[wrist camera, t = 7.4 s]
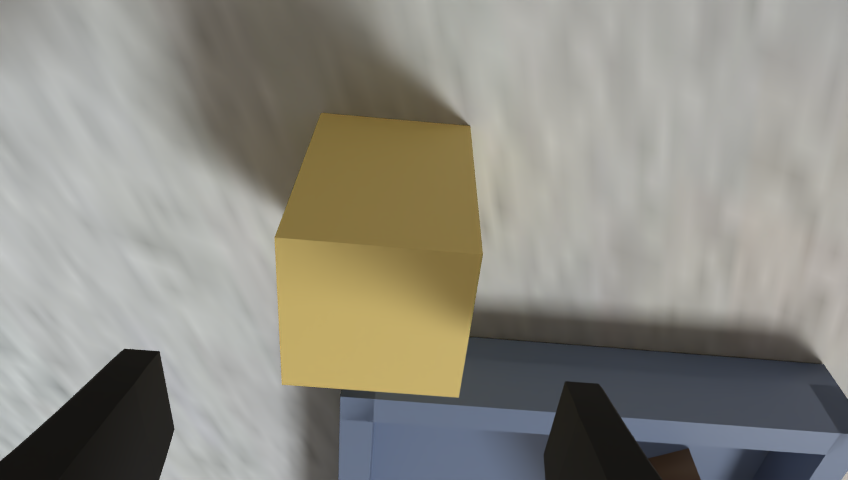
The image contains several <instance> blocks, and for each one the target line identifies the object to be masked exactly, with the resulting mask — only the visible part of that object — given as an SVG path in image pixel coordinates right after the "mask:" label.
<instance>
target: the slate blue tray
mask: <svg viewBox="0 0 848 480" xmlns="http://www.w3.org/2000/svg"><path fill="white" fill-rule="evenodd" d="M565 381H570V382H584V383H597V384H599V385H600V386H601V387H602V388H603V390H604V391H605V393H606V394H607V396H608V398H609V399H610V401H611V402H612V404H613V406H614V407H615V409H616V410H617V412H618V414H619V415H620V417H621V418H622V420H623V421H624V423H625V425H626V426H627V428H628V429H629V431H630V432H631V434H632V435H633V437H634V438H635V440H636V441H637V443H638V444H639V446H640V447H641V449H642V450H643V452H644V453H645V455H646V456H647V458H652V457H656V456H660V455H664V454H668V453H672V452H676V451H680V450H684V449H688V448H689V450H690V453H691V455H692V458H693V461H694V463H695V466H696V468H697V471H698V474H699V476H700V479H701V480H841V479H842V478H843V477H844V475H845V474H846V472H847V471H848V399H847V398H846V396H845V395H844V393H843V392H842V390H841V389H840V387H839V386H838V384H837V383H836V382H835V380H834V379H833V377H832V376H831V374H830V373H829V371H828V370H827V368H826V367H825V365H824V364H813V363H800V362H787V361H774V360H761V359H748V358H735V357H722V356H709V355H696V354H683V353H670V352H657V351H644V350H631V349H618V348H605V347H592V346H579V345H566V344H553V343H541V342H528V341H515V340H502V339H489V338H476V337H469V340H468V346H467V352H466V358H465V363H464V369H463V375H462V381H461V387H460V393H459V398H457V397H443V396H430V395H416V394H402V393H389V392H375V391H362V390H348V389H341V395H340V432H339V479H338V480H545V468H544V451H545V448H546V444H547V441H548V438H549V434H550V431H551V427H552V424H553V421H554V417H555V414H556V410H557V407H558V403H559V400H560V397H561V393H562V390H563V386H564V383H565Z"/></svg>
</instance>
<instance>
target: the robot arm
mask: <svg viewBox="0 0 848 480" xmlns="http://www.w3.org/2000/svg"><path fill="white" fill-rule="evenodd" d="M173 432H174V425H173V419H172V414H171V409H170V404H169V398H168V393H167V388H166V383H165V377H164V372H163V367H162V362H161V356H160V351H148V350H134V349H124V350H122V351H121V352H120V353H119V354H118V355H117V356H116V357H114V358H113V359H112V360H111V361H110V362H109V363H108V364H107V365H106V366H105V367H104V368H103V369H102V370H101V371H100V372H98V373H97V374H96V375H95V376H94V377H93V378H92V379H91V380H90V381H89V382H88V383H87V384H86V385H85V386H84V387H83V388H82V389H80V390H79V391H78V392H77V393H76V394H75V395H74V396H73V397H72V398H71V399H70V400H69V401H68V402H67V403H65V404H64V405H63V406H62V407H61V408H60V409H59V410H58V411H57V412H56V413H55V414H53V415H52V416H51V417H50V418H49V419H48V420H47V421H46V422H44V423H43V424H42V425H41V426H40V427H39V428H38V429H37V430H36V431H34V432H33V433H32V434H31V435H30V436H29V437H28V438H27V439H25V440H24V441H23V442H22V443H21V444H20V445H19V446H18V447H16V448H15V449H14V450H13V451H12V452H11V453H9V454H8V455H7V456H6V457H5V458H3V459H2V460H1V461H0V480H159V478H160V475H161V472H162V469H163V466H164V463H165V460H166V456H167V453H168V449H169V446H170V442H171V439H172V436H173ZM544 468H545V480H663V479H662V478H661V476H660V475H659V474H658V472H657V471H656V469H655V468H654V467H653V465H652V464H651V462H650V461H649V459H648V458H647V456H646V455H645V453H644V452H643V450H642V449H641V447H640V446H639V444H638V443H637V441H636V440H635V438H634V437H633V435H632V434H631V432H630V431H629V429H628V428H627V426H626V425H625V423H624V421H623V420H622V418H621V417H620V415H619V414H618V412H617V410H616V409H615V407H614V406H613V404H612V402H611V401H610V399H609V398H608V396H607V394H606V393H605V391H604V390H603V388H602V387H601V386H600V385H599V384H597V383H584V382H570V381H565V383H564V386H563V390H562V393H561V397H560V400H559V403H558V407H557V410H556V414H555V417H554V421H553V424H552V427H551V431H550V434H549V438H548V441H547V444H546V448H545V451H544Z"/></svg>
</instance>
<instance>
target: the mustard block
mask: <svg viewBox="0 0 848 480" xmlns="http://www.w3.org/2000/svg"><path fill="white" fill-rule="evenodd" d="M275 255H276V275H277V295H278V315H279V335H280V355H281V375H282V385H294V386H308V387H321V388H335V389H348V390H362V391H375V392H389V393H402V394H416V395H430V396H443V397H457V398H459V393H460V387H461V381H462V375H463V369H464V363H465V358H466V352H467V346H468V340H469V334H470V328H471V322H472V316H473V310H474V304H475V298H476V292H477V286H478V280H479V274H480V268H481V262H482V256H483V251H482V241H481V231H480V221H479V211H478V201H477V190H476V180H475V170H474V160H473V150H472V140H471V129H470V126H465V125H454V124H442V123H431V122H420V121H408V120H397V119H385V118H374V117H363V116H351V115H340V114H329V113H321V114H320V117H319V120H318V122H317V125H316V128H315V131H314V133H313V136H312V139H311V141H310V144H309V147H308V149H307V152H306V155H305V157H304V160H303V163H302V165H301V168H300V171H299V173H298V176H297V179H296V182H295V184H294V187H293V190H292V192H291V195H290V198H289V200H288V203H287V206H286V208H285V211H284V214H283V216H282V219H281V222H280V224H279V227H278V230H277V233H276V235H275Z"/></svg>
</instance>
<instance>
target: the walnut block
mask: <svg viewBox="0 0 848 480" xmlns="http://www.w3.org/2000/svg"><path fill="white" fill-rule="evenodd" d="M648 459H649V461H650V462H651V464H652V465H653V467H654V468H655V469H656V471H657V472H658V474H659V475H660V476H661V478H662V479H663V480H701V479H700V476H699V474H698V471H697V468H696V466H695V463H694V461H693V458H692V455H691V453H690V450H689V448H688V449H684V450H680V451H676V452H672V453H668V454H664V455H660V456H656V457H652V458H648Z"/></svg>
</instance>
